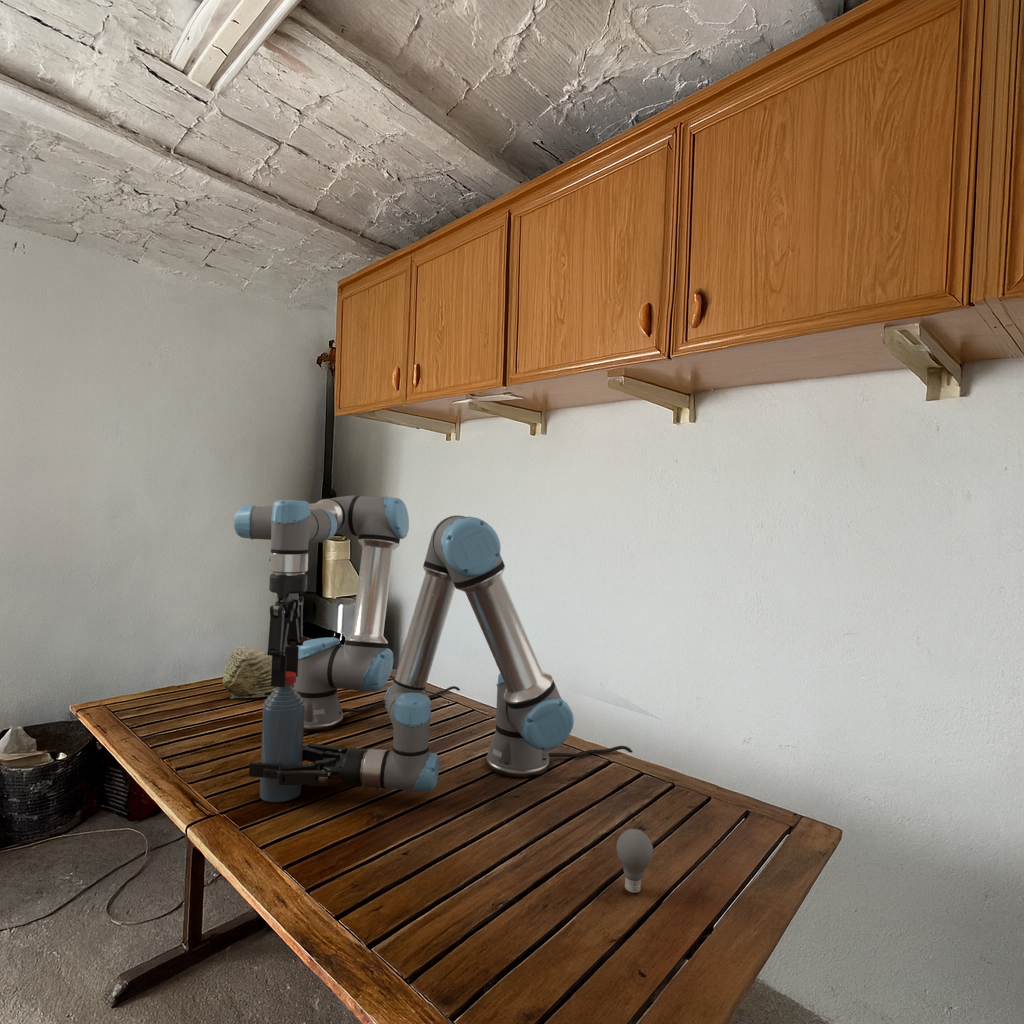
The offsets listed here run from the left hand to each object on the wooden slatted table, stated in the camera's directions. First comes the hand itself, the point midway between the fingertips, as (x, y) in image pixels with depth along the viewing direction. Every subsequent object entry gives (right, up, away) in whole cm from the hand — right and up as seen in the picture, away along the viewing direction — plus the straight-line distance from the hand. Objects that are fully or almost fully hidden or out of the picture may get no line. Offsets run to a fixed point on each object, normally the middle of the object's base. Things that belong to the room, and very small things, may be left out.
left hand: (284, 681), depth 134 cm
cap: (0, +1, 0) cm, 1 cm away
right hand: (-5, -17, +1) cm, 18 cm away
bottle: (-1, -24, 0) cm, 24 cm away
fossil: (-32, -21, +64) cm, 75 cm away
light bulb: (+68, -28, -29) cm, 79 cm away
